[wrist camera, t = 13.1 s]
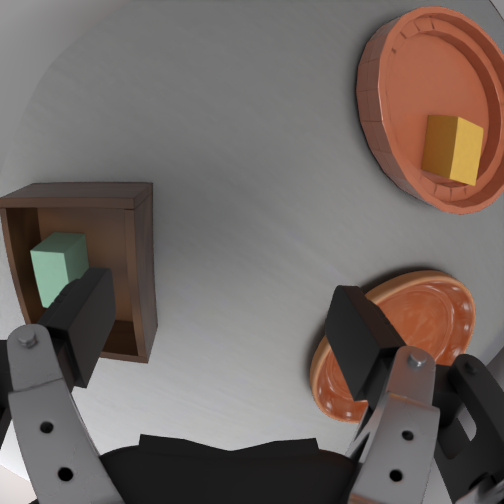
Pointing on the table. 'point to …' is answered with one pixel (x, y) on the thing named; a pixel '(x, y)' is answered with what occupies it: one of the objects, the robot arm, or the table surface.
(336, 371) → the saucer
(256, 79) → the table surface
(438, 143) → the yellow block
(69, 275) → the mint green block
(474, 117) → the bowl
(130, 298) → the holder
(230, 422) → the table surface
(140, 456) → the robot arm
